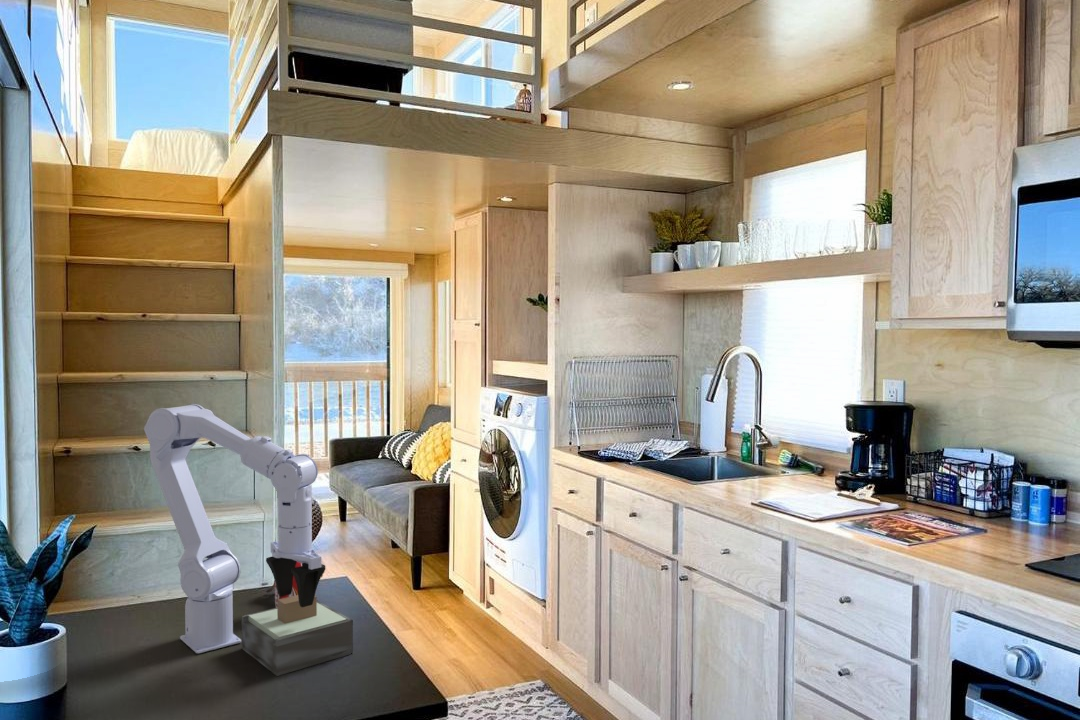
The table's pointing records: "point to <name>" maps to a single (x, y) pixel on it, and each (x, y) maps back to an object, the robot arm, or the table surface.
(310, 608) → the lid
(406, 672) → the table surface
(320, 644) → the box
